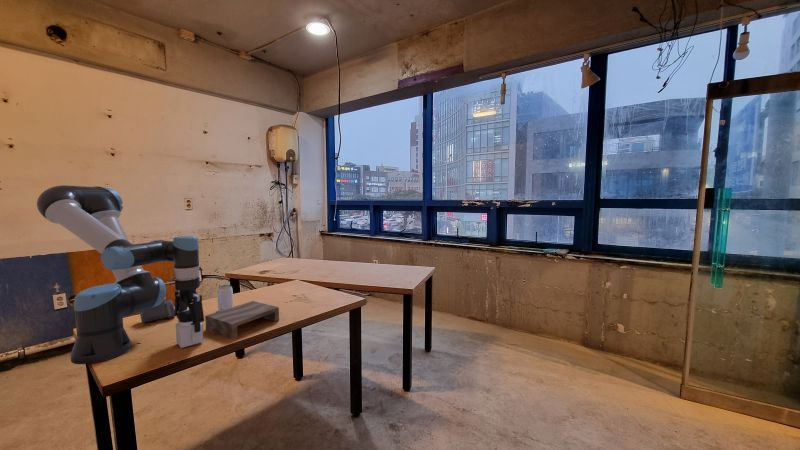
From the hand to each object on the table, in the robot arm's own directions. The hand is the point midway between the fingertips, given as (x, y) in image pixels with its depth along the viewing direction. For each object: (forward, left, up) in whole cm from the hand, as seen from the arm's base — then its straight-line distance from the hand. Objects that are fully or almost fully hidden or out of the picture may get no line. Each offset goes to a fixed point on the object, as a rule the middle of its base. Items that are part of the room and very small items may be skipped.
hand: (189, 337), depth 115 cm
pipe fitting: (-38, +6, -3) cm, 38 cm away
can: (-23, +28, -3) cm, 36 cm away
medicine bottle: (0, 0, -2) cm, 2 cm away
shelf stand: (+1, +21, -2) cm, 21 cm away
